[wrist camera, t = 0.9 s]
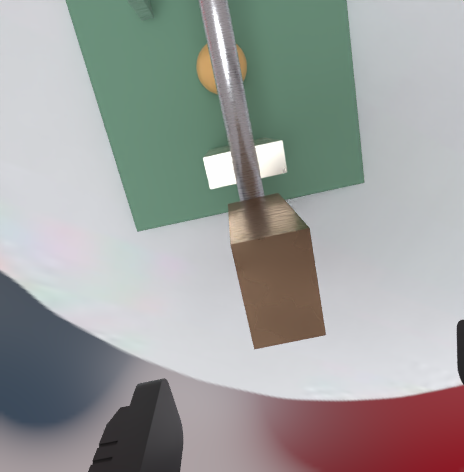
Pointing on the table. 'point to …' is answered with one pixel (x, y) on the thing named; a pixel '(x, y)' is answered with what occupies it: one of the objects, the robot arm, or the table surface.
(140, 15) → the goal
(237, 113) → the rod
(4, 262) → the table surface
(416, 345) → the table surface
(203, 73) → the ball
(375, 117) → the table surface
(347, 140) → the pitch
